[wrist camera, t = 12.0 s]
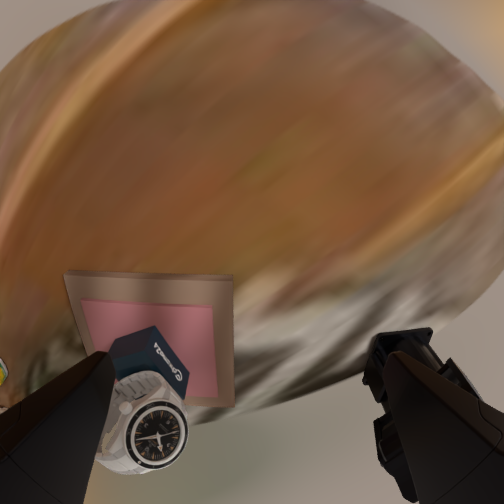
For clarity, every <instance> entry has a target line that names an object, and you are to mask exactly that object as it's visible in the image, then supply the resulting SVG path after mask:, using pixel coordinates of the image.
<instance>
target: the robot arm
mask: <svg viewBox="0 0 504 504" xmlns="http://www.w3.org/2000/svg"><path fill="white" fill-rule="evenodd" d="M432 334H433V330H432V329H431V328H430V327H428V328H421V329H413V330H405V331H396V332H387V333H380V334H379V335H378V336H377V337H376V340H375V344H374V347H373V350H372V353H371V355H370V356H369V360H368V362H367V365H366V368H365V371H364V377H363V379H362V382H363V384H364V385H369V387H370V389H371V391H372V394H373V396H374V398H375V401H376V402H377V403H381V404H382V406H383V408H384V411H385V413H386V414H384V415H383V416H381V417H380V418H377V419H376V420H374V422H373V423H374V432H375V438H376V447H377V455H378V460H379V461H380V464H381V466H382V467H384V469H385V470H386V471H387V472H388V473H389V474H390V475H392V476H393V477H394V478H395V480H396V482H397V484H398V486H399V489H400V491H401V493H402V496H403V497H404V498H405V499H406V500H408V501H410V502H412V503H416V502H417V501H419V504H504V413H502V412H500V411H498V410H496V409H495V408H493V407H491V406H490V405H488V404H486V403H485V402H484V401H483V399H482V398H481V396H480V395H479V393H478V392H477V390H476V389H475V387H474V386H473V384H472V383H471V382H470V380H469V379H468V378H467V376H466V375H465V374H464V373H463V372H462V370H461V369H460V368H459V367H458V366H457V365H456V363H455V362H454V361H453V360H452V359H451V358H449V359H448V360H447V361H446V363H445V364H443V363H442V361H441V360H440V359H439V357H438V356H437V355H436V353H435V352H434V351H433V349H432V348H431V347H430V345H429V342H430V339H431V337H432ZM381 338H382V339H381ZM115 378H116V370H115V367H114V364H113V361H112V358H111V356H110V354H109V353H108V352H105V351H96V352H94V353H93V354H91V355H90V356H88V357H87V358H85V359H83V360H82V361H80V362H79V363H77V364H76V365H74V366H73V367H71V368H70V369H68V370H67V371H65V372H64V373H62V374H61V375H59V376H58V377H56V378H55V379H53V380H52V381H50V382H49V383H47V384H46V385H44V386H42V387H41V388H39V389H38V390H36V391H35V392H33V393H32V394H30V395H29V396H27V397H26V398H24V399H23V400H22V402H21V401H20V402H18V403H17V404H15V405H14V406H12V407H10V408H9V409H7V410H6V411H4V412H2V413H1V414H0V504H83V502H84V498H85V494H86V489H87V485H88V481H89V477H90V474H91V470H92V466H93V463H94V459H95V455H96V452H97V448H98V445H99V442H100V438H101V435H102V432H103V428H104V425H105V422H106V419H107V415H108V411H109V406H110V401H111V397H112V392H113V387H114V383H115Z"/></svg>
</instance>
